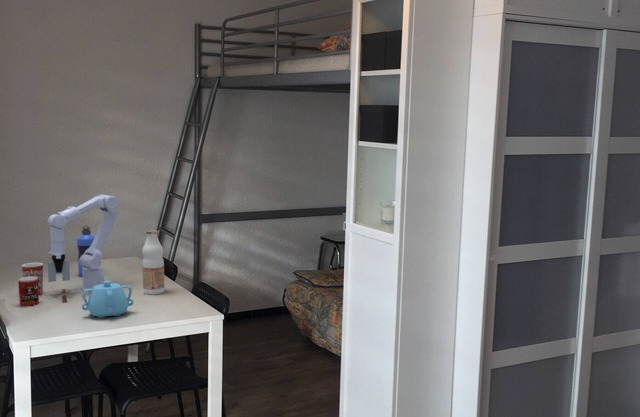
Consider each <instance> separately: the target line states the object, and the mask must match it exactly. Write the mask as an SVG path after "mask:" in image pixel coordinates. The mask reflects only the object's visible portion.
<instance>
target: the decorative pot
mask: <svg viewBox="0 0 640 417" xmlns="http://www.w3.org/2000/svg"><path fill="white" fill-rule="evenodd" d="M124 289H128V295H127V294H126V293H125V290H124ZM87 292H90V293H89V295H88V299H86V298H87V297H86V293H87ZM132 293H133V289H132V287H131V286H130V285H127V284H123V285H121V284H120V283H116V282H115V283H114V282H113V283H112V280H104V282H103V284H100V285H95V286H93V288H92V289H86V290H85V291H83V292H82V294H81V296H82V299H83V302H84V303H83V304H81V309H82V311H88V312H89V313H90V314H91V315H92V316H94V317H97V318H98V319H103V318H105V317H110V316H114V317H121V316H122V315H123V314H124V313H126V311H127V310H128V308H129V307H131V306H133V305H134V300H133V298H132V295H133V294H132ZM131 298H132V299H131ZM130 302H131V303H130ZM85 306H86V307H85Z"/></svg>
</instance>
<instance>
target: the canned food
mask: <svg viewBox="0 0 640 417" xmlns="http://www.w3.org/2000/svg"><path fill="white" fill-rule="evenodd" d="M17 282H18V294H19V295H18V299H19V300H18V301H19V304H20V306H22V307H31V306H36V305H38V304H39V302H40V295H39V291H38V278H37V277H34V276H29V277H23V276H22V277H20V278H19V277H18V280H17Z"/></svg>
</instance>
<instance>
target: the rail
mask: <svg viewBox="0 0 640 417" xmlns="http://www.w3.org/2000/svg"><path fill="white" fill-rule="evenodd" d="M61 292H62V293H61V297H62V303H68V301H67V298H68V297H67V289H66V288H64V289H61Z"/></svg>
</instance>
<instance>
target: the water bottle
mask: <svg viewBox="0 0 640 417" xmlns="http://www.w3.org/2000/svg"><path fill="white" fill-rule="evenodd" d="M81 229H82V230H81V234H82V235H80V236H78V237H76V245H77V251H78V254H77V255H78V256H77V262H78V263H77V266H78V267H77V268H78V277H79V278H83V273H82V266H81V265H80V262H79V260H80V257H81V256H82V255H83V254H84V253H85V251H86V250H87V249H88V248H90V246H91V244H92V242H93V240H94V238H95V236H96V235H95V236H94V235H92V230H91V227H90V226H89V225H84V226H82V227H81Z"/></svg>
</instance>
